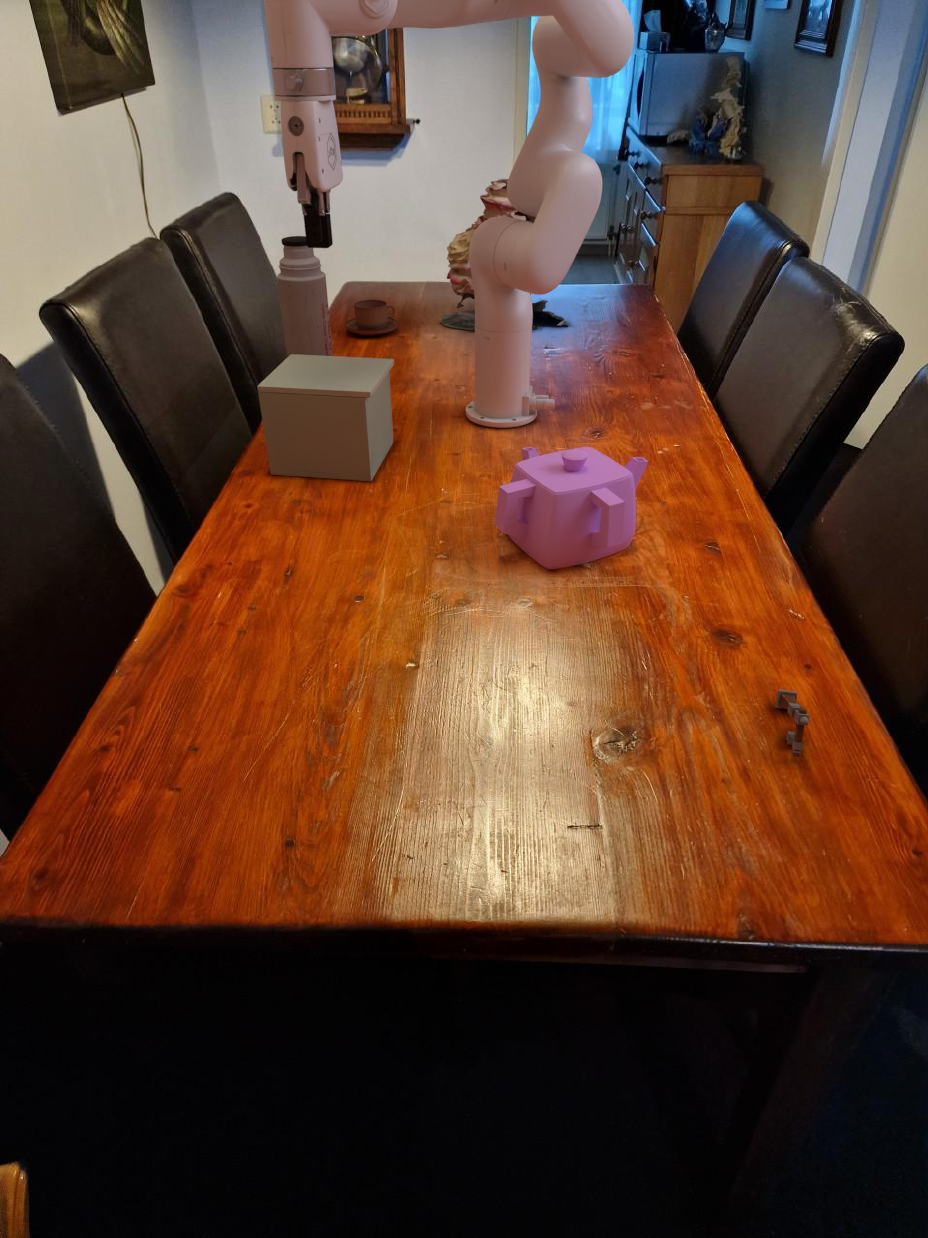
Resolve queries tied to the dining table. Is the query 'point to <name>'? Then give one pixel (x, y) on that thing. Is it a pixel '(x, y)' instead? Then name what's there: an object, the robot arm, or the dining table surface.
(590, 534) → the teakettle
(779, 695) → the grey jointed linkage
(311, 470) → the grey open box
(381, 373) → the lid
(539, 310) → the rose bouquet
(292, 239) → the thermos bottle
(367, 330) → the cup and saucer
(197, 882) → the dining table surface
